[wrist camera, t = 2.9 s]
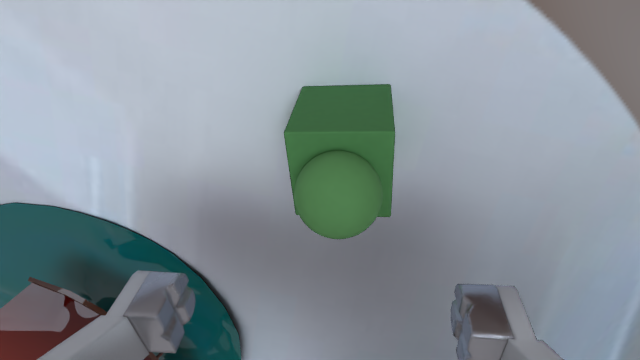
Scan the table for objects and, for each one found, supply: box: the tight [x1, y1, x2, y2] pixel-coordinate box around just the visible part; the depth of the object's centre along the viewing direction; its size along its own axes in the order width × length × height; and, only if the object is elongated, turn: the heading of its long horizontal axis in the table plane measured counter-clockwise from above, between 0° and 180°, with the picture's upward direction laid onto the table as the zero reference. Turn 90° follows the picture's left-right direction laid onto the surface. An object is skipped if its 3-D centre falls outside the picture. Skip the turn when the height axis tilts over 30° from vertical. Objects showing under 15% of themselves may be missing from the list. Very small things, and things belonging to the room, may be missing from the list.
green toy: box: [284, 84, 395, 239], centre depth 17 cm, size 4×4×8 cm
